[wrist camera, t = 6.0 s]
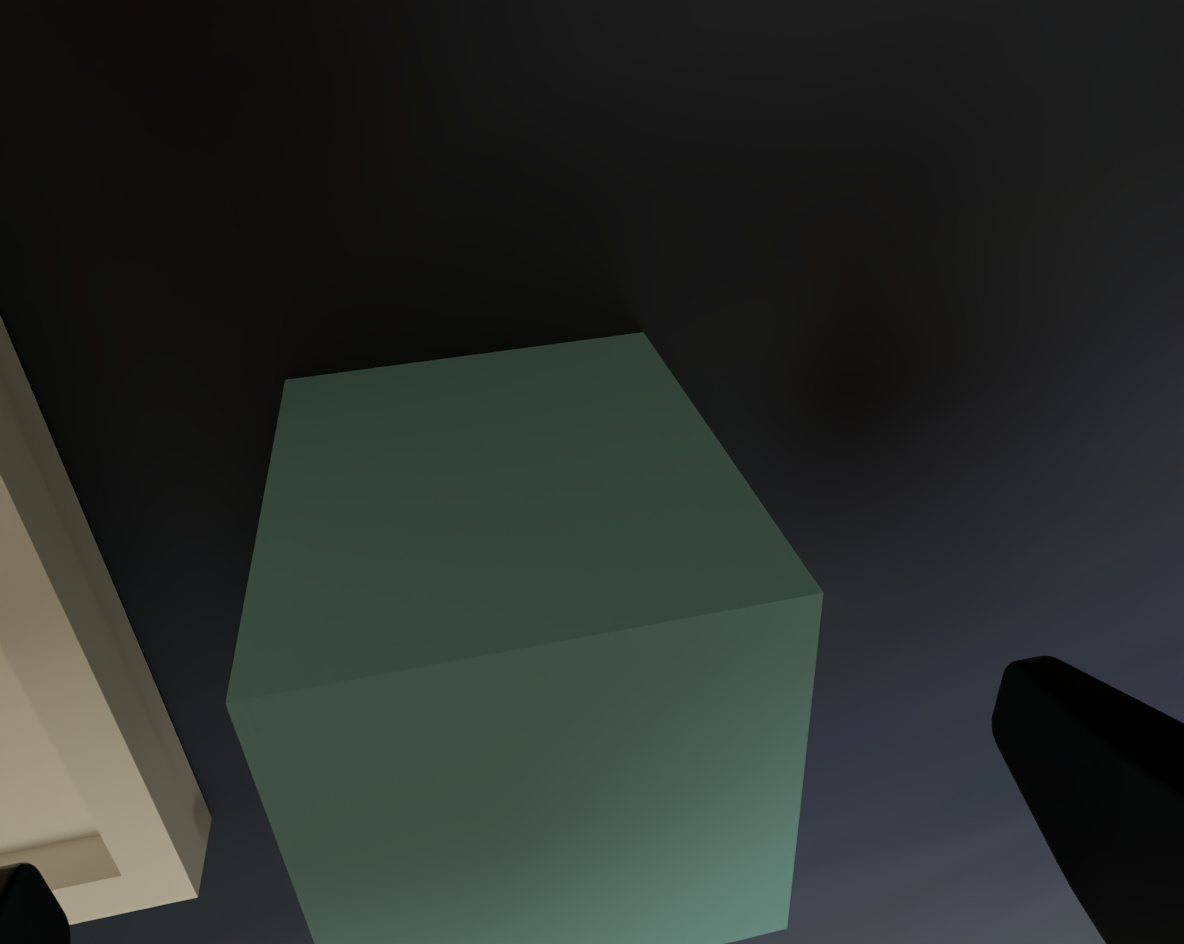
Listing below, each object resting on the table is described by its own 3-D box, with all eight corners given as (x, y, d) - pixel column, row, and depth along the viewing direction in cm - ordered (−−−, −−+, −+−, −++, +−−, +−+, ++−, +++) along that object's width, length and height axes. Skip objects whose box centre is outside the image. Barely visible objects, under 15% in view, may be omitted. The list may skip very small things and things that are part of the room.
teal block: (642, 330, 12) (823, 593, 7) (648, 600, 14) (787, 928, 9) (285, 378, 11) (224, 703, 6) (355, 652, 13) (348, 1035, 9)
